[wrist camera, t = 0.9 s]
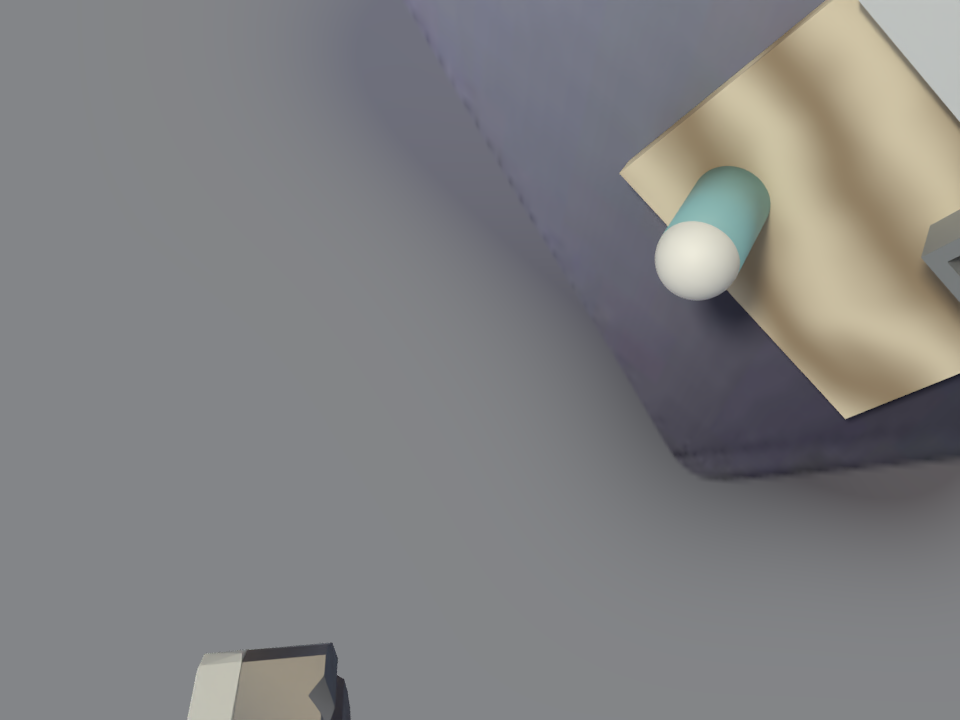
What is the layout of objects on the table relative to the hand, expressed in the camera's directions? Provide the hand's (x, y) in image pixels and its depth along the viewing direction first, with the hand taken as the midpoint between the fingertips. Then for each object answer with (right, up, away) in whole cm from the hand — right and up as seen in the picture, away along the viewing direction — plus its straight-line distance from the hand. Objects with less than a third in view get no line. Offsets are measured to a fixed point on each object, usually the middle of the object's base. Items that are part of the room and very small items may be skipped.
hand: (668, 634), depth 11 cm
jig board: (+19, +12, +36) cm, 42 cm away
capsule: (+11, +12, +38) cm, 42 cm away
